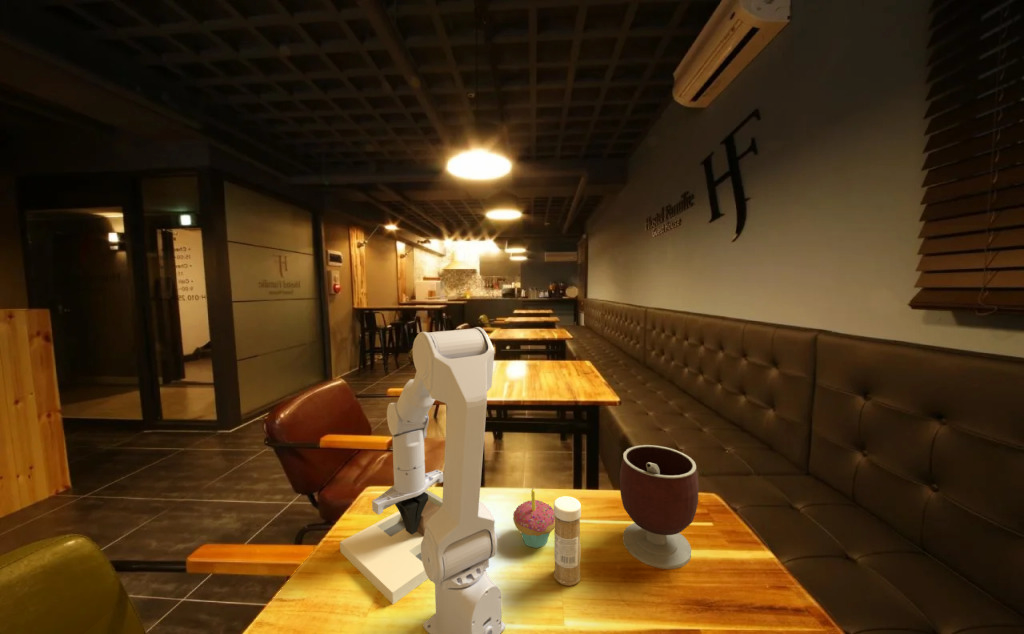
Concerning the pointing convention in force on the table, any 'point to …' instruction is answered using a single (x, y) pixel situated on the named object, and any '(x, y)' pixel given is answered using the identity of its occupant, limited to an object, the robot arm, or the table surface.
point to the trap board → (389, 555)
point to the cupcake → (534, 521)
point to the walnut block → (426, 516)
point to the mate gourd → (658, 504)
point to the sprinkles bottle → (567, 540)
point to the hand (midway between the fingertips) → (411, 531)
